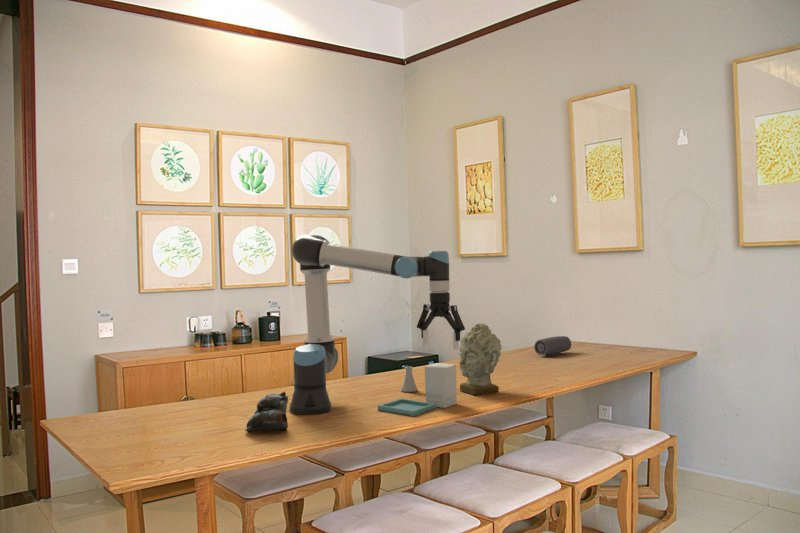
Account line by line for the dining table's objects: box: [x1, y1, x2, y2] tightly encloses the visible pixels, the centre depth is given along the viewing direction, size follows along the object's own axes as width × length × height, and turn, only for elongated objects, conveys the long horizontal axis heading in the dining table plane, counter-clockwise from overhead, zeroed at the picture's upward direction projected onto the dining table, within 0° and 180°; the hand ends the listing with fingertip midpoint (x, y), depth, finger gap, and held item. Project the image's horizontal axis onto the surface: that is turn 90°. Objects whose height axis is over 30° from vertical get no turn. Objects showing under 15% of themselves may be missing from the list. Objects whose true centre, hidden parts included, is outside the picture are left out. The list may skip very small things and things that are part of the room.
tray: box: [377, 398, 437, 417], centre depth 237 cm, size 14×16×2 cm
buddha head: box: [459, 323, 502, 397], centre depth 266 cm, size 17×19×28 cm
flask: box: [400, 366, 418, 393], centre depth 270 cm, size 7×7×10 cm
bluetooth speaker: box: [534, 335, 572, 357], centre depth 359 cm, size 23×9×10 cm, turn 130°
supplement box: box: [424, 362, 458, 409], centre depth 244 cm, size 9×9×15 cm
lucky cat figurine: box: [244, 391, 289, 433], centre depth 213 cm, size 15×12×14 cm
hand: (440, 348), depth 244 cm, fingers open, 13 cm apart
